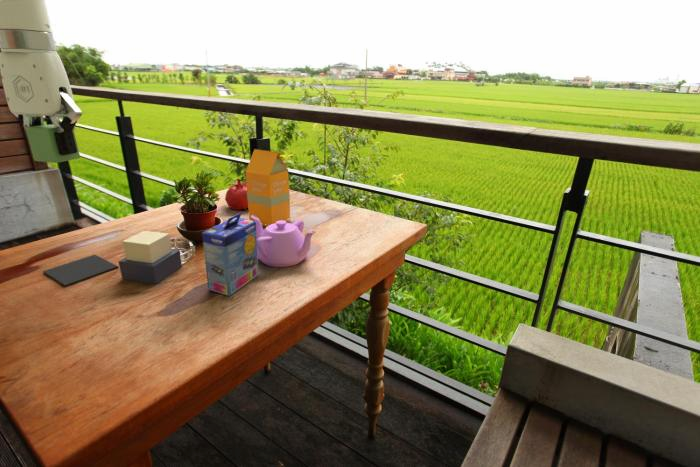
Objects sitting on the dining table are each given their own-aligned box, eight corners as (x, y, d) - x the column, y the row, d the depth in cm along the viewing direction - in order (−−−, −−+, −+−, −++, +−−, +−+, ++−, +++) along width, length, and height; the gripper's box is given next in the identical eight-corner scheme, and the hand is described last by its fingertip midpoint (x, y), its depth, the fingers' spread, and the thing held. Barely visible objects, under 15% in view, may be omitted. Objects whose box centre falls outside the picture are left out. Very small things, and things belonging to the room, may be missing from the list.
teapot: (253, 249, 92) (251, 214, 89) (311, 245, 95) (311, 211, 92) (251, 272, 82) (248, 233, 78) (317, 267, 84) (316, 229, 81)
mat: (43, 272, 80) (42, 271, 79) (95, 256, 87) (94, 254, 87) (65, 287, 74) (64, 285, 74) (118, 267, 82) (118, 266, 82)
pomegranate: (264, 204, 124) (263, 176, 121) (245, 213, 116) (242, 183, 112) (240, 200, 128) (237, 173, 125) (219, 209, 120) (215, 179, 116)
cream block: (126, 259, 77) (122, 241, 75) (147, 247, 82) (144, 230, 81) (152, 263, 76) (148, 244, 74) (172, 251, 81) (169, 233, 80)
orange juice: (272, 228, 105) (267, 154, 98) (248, 221, 110) (243, 150, 102) (290, 220, 112) (288, 150, 104) (268, 214, 116) (263, 146, 108)
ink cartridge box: (230, 297, 72) (222, 224, 67) (206, 291, 74) (197, 220, 68) (260, 274, 81) (256, 208, 75) (238, 269, 82) (232, 204, 77)
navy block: (122, 279, 78) (118, 261, 76) (150, 262, 85) (147, 245, 83) (156, 284, 76) (153, 266, 74) (182, 266, 83) (179, 249, 82)
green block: (34, 161, 70) (24, 127, 68) (59, 156, 75) (51, 124, 73) (56, 163, 69) (47, 128, 67) (80, 158, 74) (72, 125, 72)
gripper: (-36, 42, 63) (-1, 153, 70) (47, 42, 60) (75, 159, 67) (11, 45, 70) (39, 147, 77) (88, 46, 67) (110, 152, 73)
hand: (55, 151), depth 72 cm, fingers closed on green block, 5 cm apart
